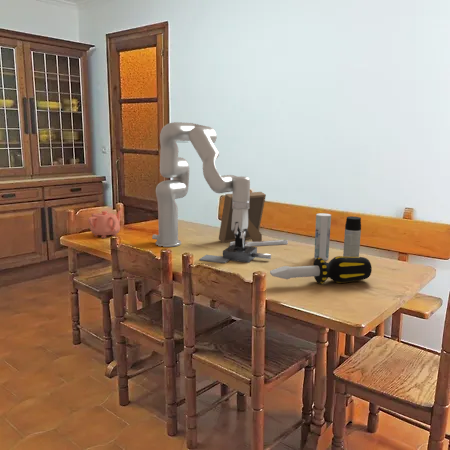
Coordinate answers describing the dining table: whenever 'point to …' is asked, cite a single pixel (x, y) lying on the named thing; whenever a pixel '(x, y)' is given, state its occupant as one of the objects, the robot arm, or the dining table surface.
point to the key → (242, 241)
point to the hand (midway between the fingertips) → (240, 245)
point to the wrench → (263, 243)
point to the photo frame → (253, 218)
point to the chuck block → (243, 254)
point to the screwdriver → (329, 270)
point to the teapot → (105, 223)
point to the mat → (214, 259)
